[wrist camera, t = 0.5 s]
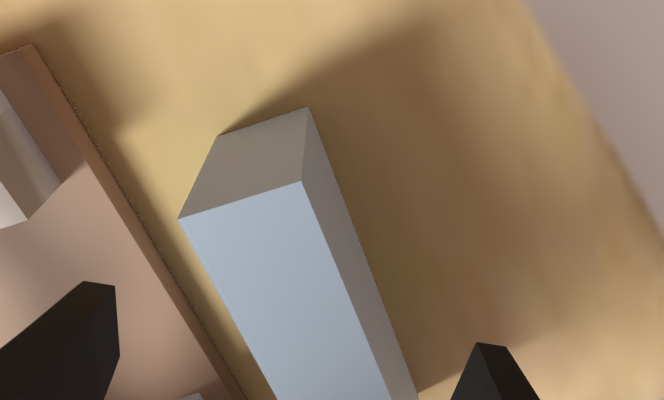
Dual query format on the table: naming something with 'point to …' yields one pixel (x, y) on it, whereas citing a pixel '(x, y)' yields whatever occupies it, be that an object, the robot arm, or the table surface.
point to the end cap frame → (89, 245)
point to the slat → (293, 265)
